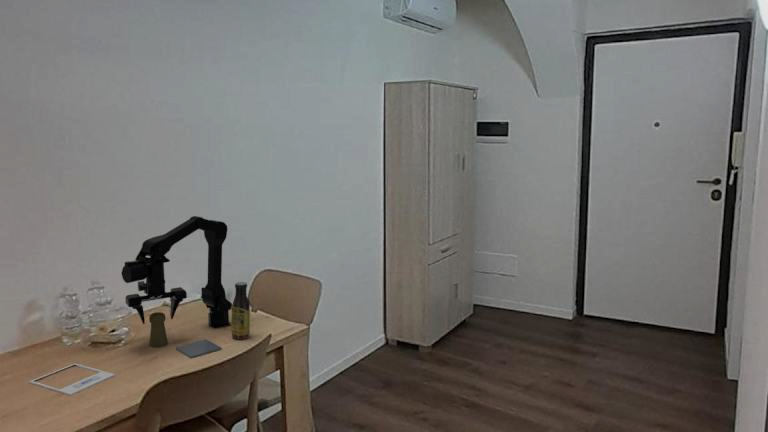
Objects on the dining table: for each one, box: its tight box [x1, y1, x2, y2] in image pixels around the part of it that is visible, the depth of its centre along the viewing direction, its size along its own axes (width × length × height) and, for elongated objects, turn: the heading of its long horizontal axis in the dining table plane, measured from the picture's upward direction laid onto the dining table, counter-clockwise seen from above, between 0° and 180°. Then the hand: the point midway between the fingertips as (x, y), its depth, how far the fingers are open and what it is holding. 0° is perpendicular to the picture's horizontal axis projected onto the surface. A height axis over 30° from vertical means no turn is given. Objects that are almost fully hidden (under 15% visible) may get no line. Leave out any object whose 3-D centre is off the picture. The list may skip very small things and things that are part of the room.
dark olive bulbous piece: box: [148, 311, 169, 349], centre depth 198 cm, size 6×6×11 cm
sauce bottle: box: [231, 281, 251, 340], centre depth 205 cm, size 7×6×20 cm
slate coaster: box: [175, 338, 223, 359], centre depth 195 cm, size 11×11×1 cm
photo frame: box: [28, 363, 116, 396], centre depth 171 cm, size 15×1×18 cm
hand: (157, 321), depth 198 cm, fingers open, 9 cm apart
